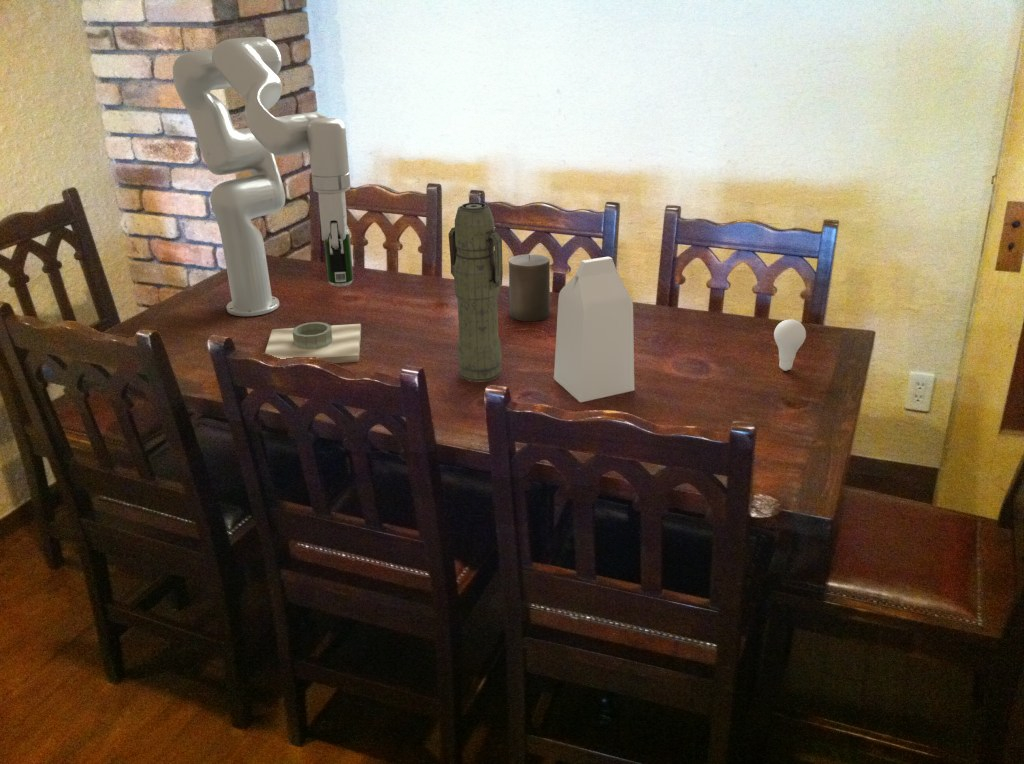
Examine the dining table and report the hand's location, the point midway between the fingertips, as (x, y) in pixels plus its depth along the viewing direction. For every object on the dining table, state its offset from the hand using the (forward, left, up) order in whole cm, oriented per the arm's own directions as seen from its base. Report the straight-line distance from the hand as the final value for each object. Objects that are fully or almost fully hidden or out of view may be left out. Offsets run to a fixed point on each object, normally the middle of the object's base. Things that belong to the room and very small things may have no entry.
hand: (339, 266), depth 183 cm
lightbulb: (+28, +90, -19) cm, 96 cm away
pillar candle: (-12, +43, -19) cm, 48 cm away
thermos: (+19, +28, -19) cm, 38 cm away
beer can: (0, 0, -4) cm, 4 cm away
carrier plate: (-1, -7, -19) cm, 20 cm away
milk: (+27, +50, -19) cm, 60 cm away
